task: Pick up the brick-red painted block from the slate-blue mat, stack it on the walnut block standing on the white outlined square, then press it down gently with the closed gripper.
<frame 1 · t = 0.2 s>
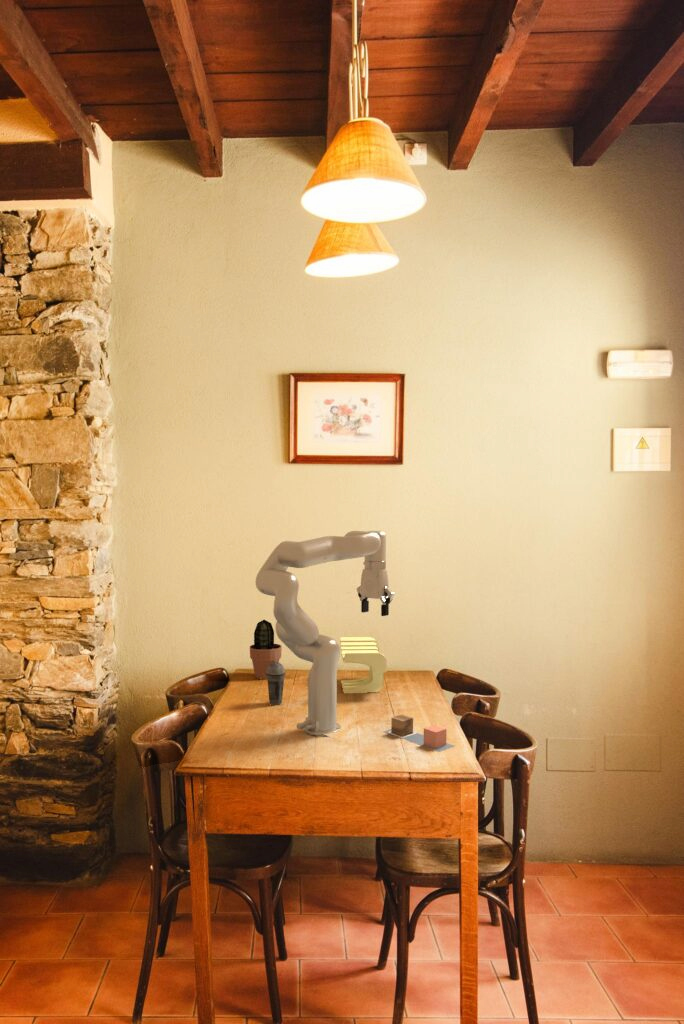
hand: (374, 613, 254), 37 cm above the table, tool pointing down, fingers open, 9 cm apart
potted plant: (265, 677, 308), on the table
red block: (434, 744, 224), point 1 cm above the table, touching blueprint mat
beverage cup: (275, 704, 269), on the table
slatted curved stool: (361, 688, 291), on the table
blueprint mat: (418, 741, 229), on the table
walnut block: (402, 732, 235), point 1 cm above the table, touching blueprint mat
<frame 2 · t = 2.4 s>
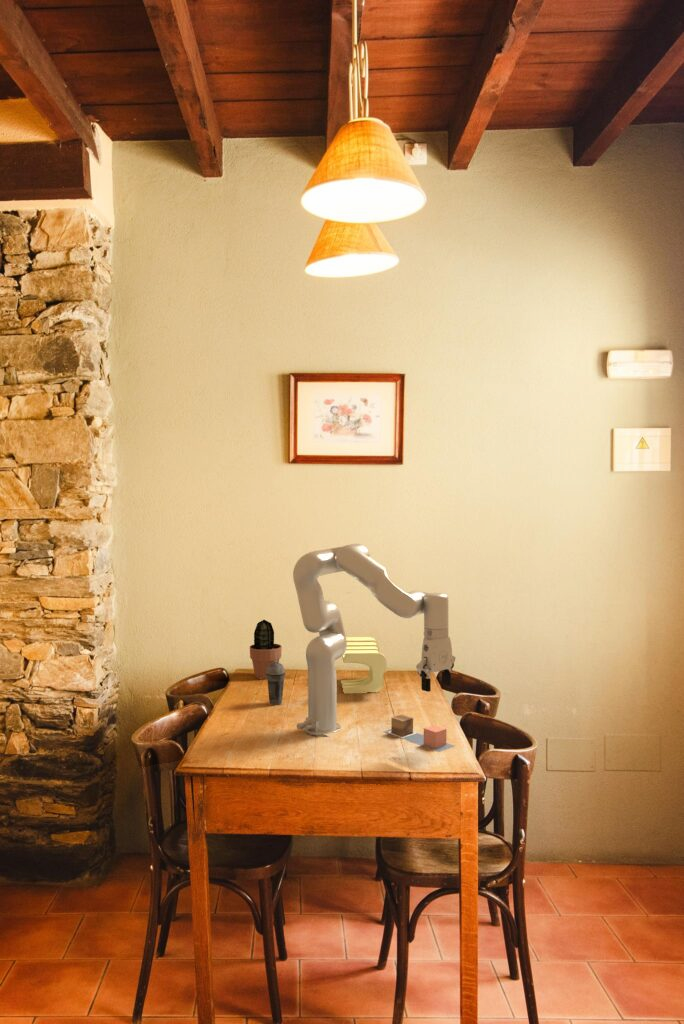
hand: (436, 687, 224), 19 cm above the table, tool pointing down, fingers open, 9 cm apart
nothing on the table moved.
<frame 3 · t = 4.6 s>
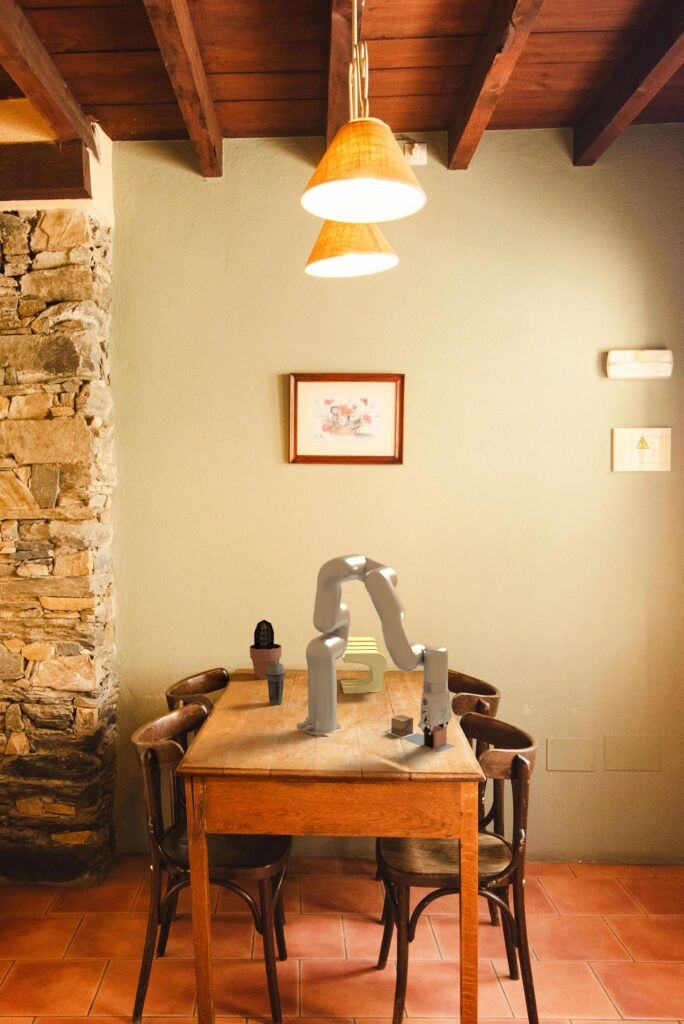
hand: (434, 743, 224), 1 cm above the table, tool pointing down, fingers closed on red block, 4 cm apart
red block: (434, 744, 224), point 1 cm above the table, touching blueprint mat, gripper
everything else where it was.
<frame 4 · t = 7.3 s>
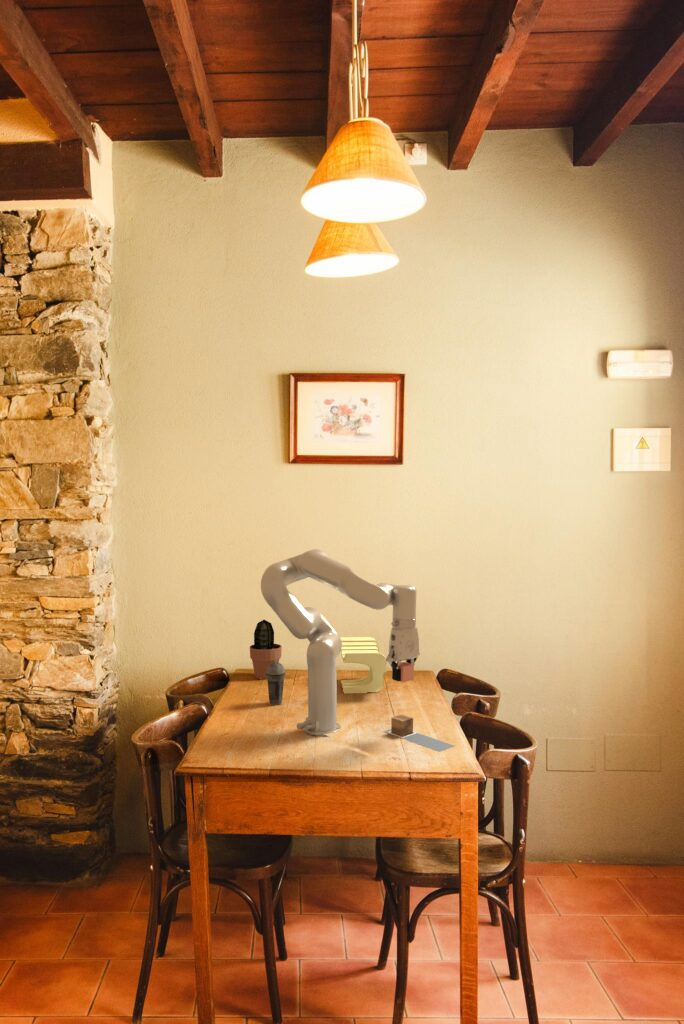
hand: (402, 678, 234), 19 cm above the table, tool pointing down, fingers closed on red block, 4 cm apart
red block: (402, 679, 234), point 19 cm above the table, touching gripper
everything else where it was.
when the fingers open (7 cm above the table, at t = 10.1 s): red block stays where it is, resting on walnut block.
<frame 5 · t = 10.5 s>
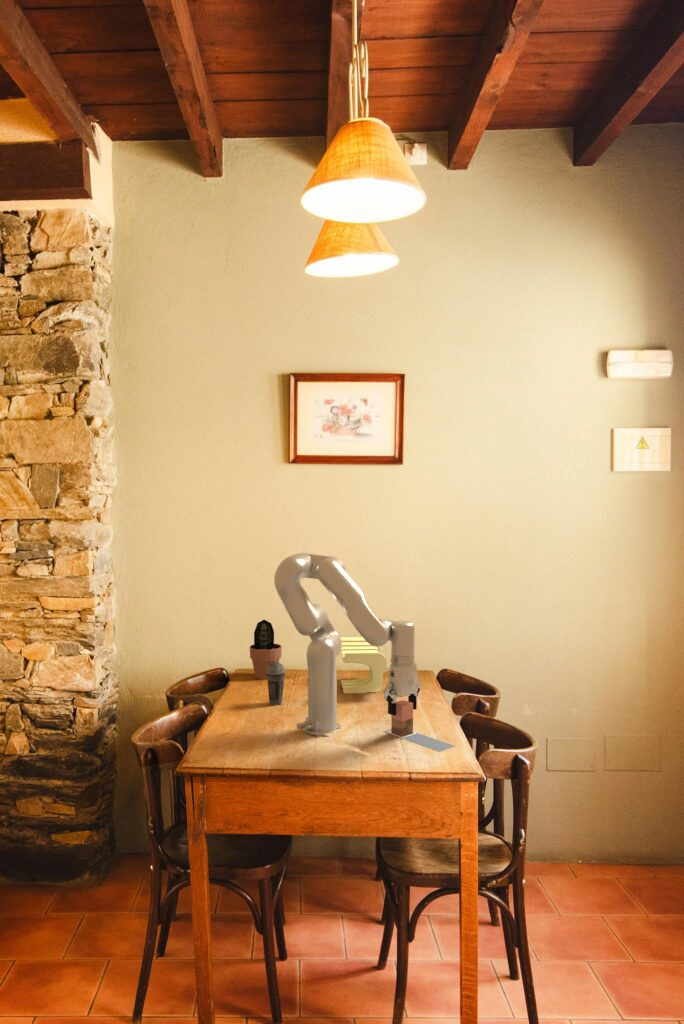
hand: (402, 711, 234), 8 cm above the table, tool pointing down, fingers open, 9 cm apart
red block: (402, 717, 234), point 6 cm above the table, touching walnut block
walnut block: (402, 732, 235), point 1 cm above the table, touching blueprint mat, red block
everything else where it was.
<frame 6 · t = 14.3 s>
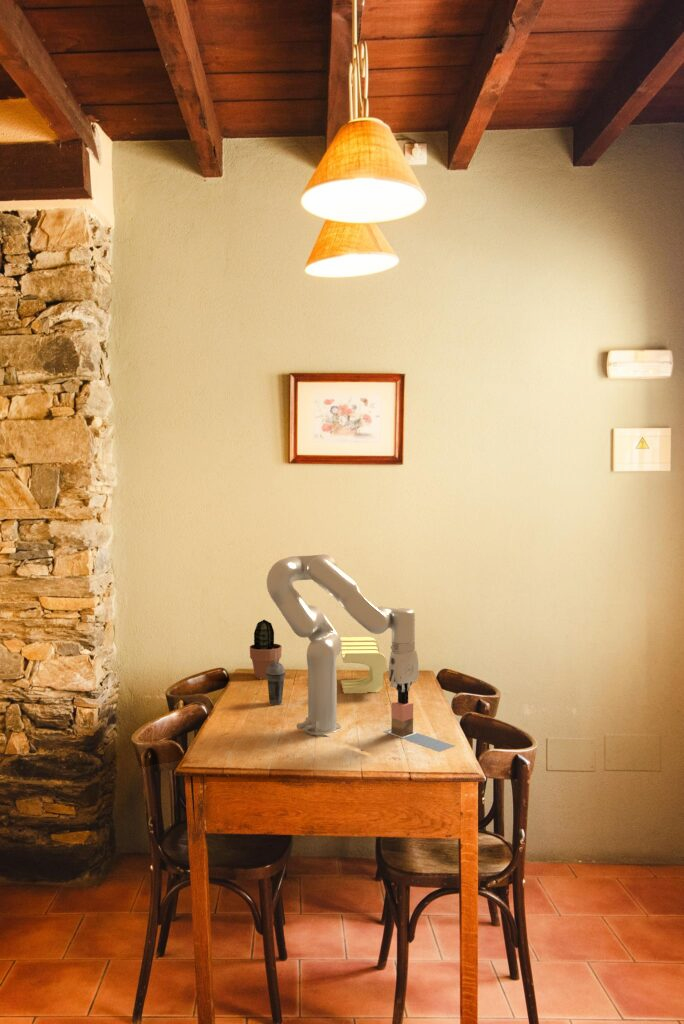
hand: (403, 702, 234), 11 cm above the table, tool pointing down, fingers closed
red block: (402, 717, 234), point 6 cm above the table, touching gripper, walnut block
everything else where it was.
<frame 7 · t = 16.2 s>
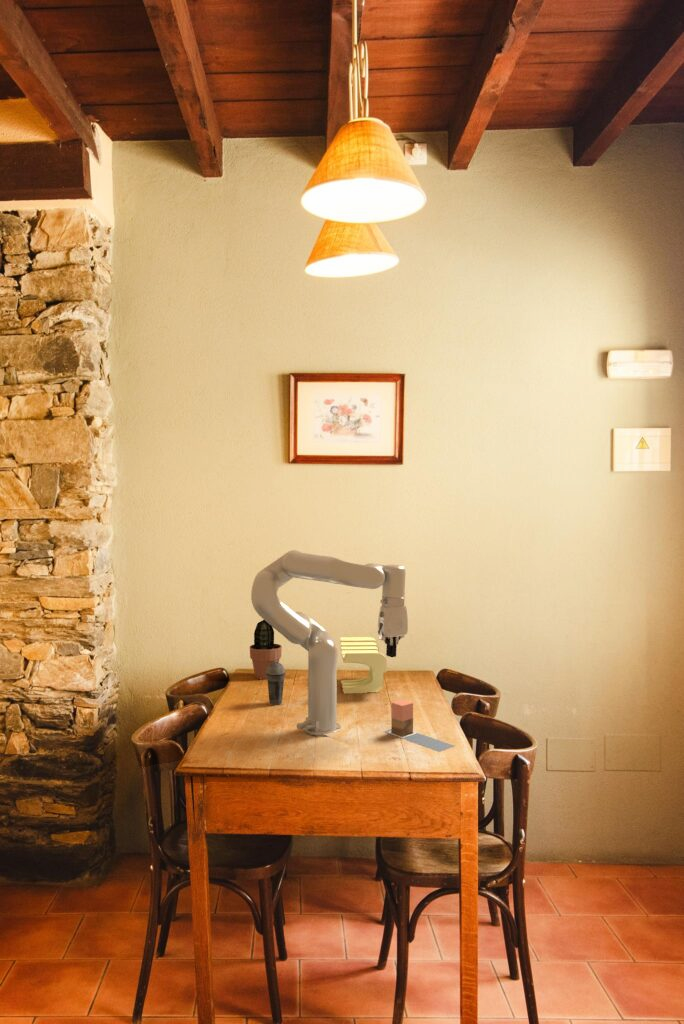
hand: (391, 656, 241), 25 cm above the table, tool pointing down, fingers closed
red block: (402, 717, 234), point 6 cm above the table, touching walnut block
everything else where it was.
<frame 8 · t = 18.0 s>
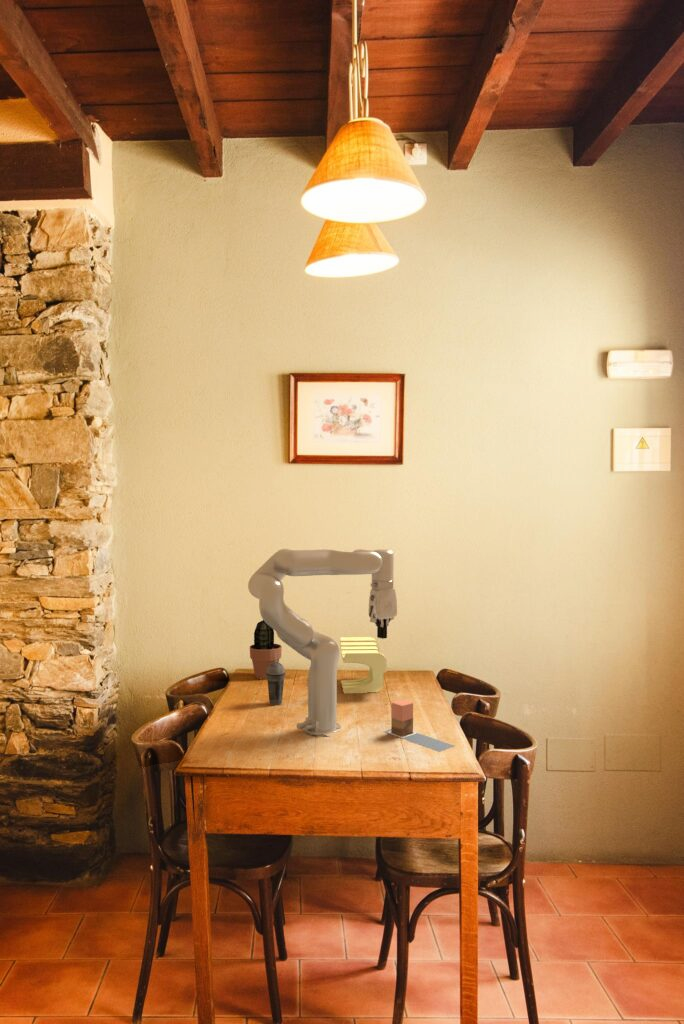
hand: (382, 637, 249), 29 cm above the table, tool pointing down, fingers closed
nothing on the table moved.
at the end: red block 0.1 cm off-centre on the walnut block, point 5.0 cm above the walnut block's base; red block tilted 0°; walnut block moved 0.0 cm from its start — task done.
